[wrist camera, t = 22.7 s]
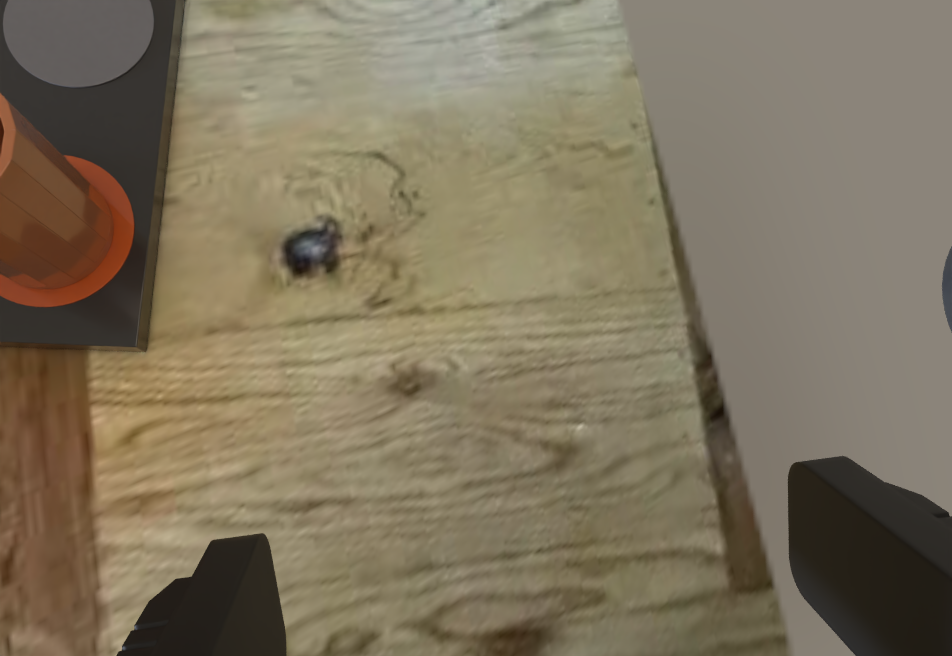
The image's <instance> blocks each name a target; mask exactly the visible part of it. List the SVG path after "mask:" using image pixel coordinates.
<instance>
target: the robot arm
mask: <svg viewBox="0 0 952 656" xmlns="http://www.w3.org/2000/svg"><path fill="white" fill-rule="evenodd" d="M788 521H789V560H790V566H791V571H792V574H793V577H794V580H795V583H796V585H797V587H798V589H799V591H800V593H801V594H802V596H803V597H804V599H805V600H806V601H807V602H808V603H809V604H810V605H811V606H812V608H813V609H814V610H815V611H816V612H817V613H818V614H819V615H820V617H821V618H822V619H823V620H824V621H825V622H826V623H827V624H828V625H829V626H830V627H831V628H832V630H833V631H834V632H835V633H836V634H837V635H838V636H839V638H840V639H841V640H842V641H843V642H844V643H845V644H846V645H847V646H848V648H849V649H850V650H851V651H852V652H853V653H854V654H855V655H856V656H952V517H950V516H949V513H948V512H947V511H945V510H944V509H942V508H941V507H939V506H938V505H936V504H935V503H933V502H932V501H930V500H929V499H927V498H925V497H924V496H922V495H920V494H917V493H914V492H912V491H909V490H906V489H903V488H901V487H898V486H895V485H892V484H889V483H886V482H883V481H882V480H880V479H879V478H877V477H876V476H875V475H873V474H872V473H870V472H869V471H867V470H866V469H864V468H863V467H861V466H860V465H858V464H857V463H855V462H854V461H852V460H851V459H849V458H847V457H844V456H839V457H832V458H825V459H818V460H810V461H803V462H796V463H794V464H793V465H792V466H791V468H790V471H789V475H788ZM134 627H135V629H134V630H133V631H131V632H130V634H129V636H128V637H127V639H126V641H125V642H124V644H123V646H122V651H119V652H118V654H117V656H286V634H285V626H284V620H283V615H282V609H281V604H280V598H279V593H278V587H277V582H276V577H275V571H274V566H273V560H272V555H271V550H270V545H269V542H268V539H267V537H266V535H265V534H263V533H261V534H254V535H247V536H239V537H232V538H224V539H217V540H212V541H211V542H210V544H209V545H208V547H207V549H206V551H205V553H204V555H203V557H202V559H201V560H200V562H199V564H198V566H197V568H196V570H195V572H194V574H193V575H192V577H187V578H180V579H175V580H174V581H173V582H172V583H171V584H169V585H168V586H167V587H166V588H165V589H163V590H162V591H161V592H160V593H159V594H157V595H156V596H155V597H154V598H153V599H151V600H150V601H149V602H148V604H147V606H146V607H145V609H144V611H143V612H142V614H141V616H140V617H139V619H138V621H137V622H136V624H135V626H134Z"/></svg>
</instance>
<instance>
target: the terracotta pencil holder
mask: <svg viewBox="0 0 952 656" xmlns="http://www.w3.org/2000/svg"><path fill="white" fill-rule="evenodd" d="M113 232H114V223H113V216H112V212H111V210H110V207H109V205H108V203H107V201H106V200H105V198H104V197H103V195H102V194H101V193H100V192H99V191H98V190H97V189H96V188H95V187H94V186H93V185H92V183H91V182H90V181H89V180H88V179H87V178H86V177H85V176H84V175H83V174H82V173H81V172H80V171H79V170H78V169H77V168H76V167H75V166H74V165H73V164H72V163H71V162H70V161H69V160H68V159H67V158H66V157H65V156H64V155H63V154H62V153H61V152H60V151H59V150H58V149H57V148H56V147H55V146H54V145H53V144H52V143H51V142H50V141H49V140H48V139H47V138H46V137H45V136H44V135H43V134H42V133H41V132H40V131H39V130H38V129H37V128H36V127H35V126H34V125H33V124H32V123H31V122H30V121H29V120H28V119H27V118H26V117H25V116H24V115H23V114H22V113H21V112H20V111H19V110H18V109H17V108H16V107H15V106H14V105H13V104H12V103H11V102H10V101H9V100H8V99H7V98H6V97H5V96H4V95H3V94H2V93H1V92H0V276H2V277H4V278H6V279H9V280H11V281H13V282H14V283H16V284H19V285H22V286H24V287H28V288H33V289H56V288H61V287H65V286H68V285H71V284H74V283H76V282H78V281H80V280H82V279H83V278H85V277H86V276H88V275H89V274H90V273H92V272H93V271H94V270H95V269H96V268H97V267H98V266H99V265H100V263H101V262H102V261H103V259H104V258H105V256H106V255H107V253H108V251H109V248H110V246H111V243H112V239H113Z"/></svg>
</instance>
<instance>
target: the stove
mask: <svg viewBox="0 0 952 656" xmlns="http://www.w3.org/2000/svg"><path fill="white" fill-rule="evenodd" d="M184 4H185V0H0V92H1V93H2V94H3V95H4V96H5V97H6V98H7V99H8V100H9V101H10V102H11V103H12V104H13V105H14V106H15V107H16V108H17V109H18V110H19V111H20V112H21V113H22V114H23V115H24V116H25V117H26V118H27V119H28V120H29V121H30V122H31V123H32V124H33V125H34V126H35V127H36V128H37V129H38V130H39V131H40V132H41V133H42V134H43V135H44V136H45V137H46V138H47V139H48V140H49V141H50V142H51V143H52V144H53V145H54V146H55V147H56V148H57V149H58V150H59V151H60V152H61V153H62V154H63V155H64V156H65V157H66V158H67V159H68V160H69V161H70V162H71V163H72V164H73V165H74V166H75V167H76V168H77V169H78V170H79V171H80V172H81V173H82V174H83V175H84V176H85V177H86V178H87V179H88V180H89V181H90V182H91V183H92V185H93V186H94V187H95V188H96V189H97V190H98V191H99V192H100V193H101V194H102V195H103V197H104V198H105V200H106V201H107V203H108V205H109V207H110V210H111V212H112V216H113V223H114V232H113V239H112V243H111V246H110V248H109V251H108V253H107V255H106V256H105V258H104V259H103V261H102V262H101V263H100V265H99V266H98V267H97V268H96V269H95V270H94V271H93V272H92V273H90V274H89V275H88V276H86V277H85V278H83V279H82V280H80V281H78V282H76V283H74V284H71V285H68V286H65V287H61V288H56V289H33V288H28V287H24V286H22V285H19V284H16V283H14V282H13V281H11V280H9V279H6V278H4V277H2V276H0V347H26V348H51V349H76V350H102V351H127V352H146V349H147V340H148V331H149V322H150V313H151V304H152V295H153V286H154V277H155V268H156V258H157V249H158V240H159V231H160V222H161V213H162V204H163V195H164V186H165V177H166V167H167V158H168V149H169V140H170V131H171V122H172V113H173V104H174V95H175V85H176V76H177V67H178V58H179V49H180V40H181V31H182V22H183V13H184Z"/></svg>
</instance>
